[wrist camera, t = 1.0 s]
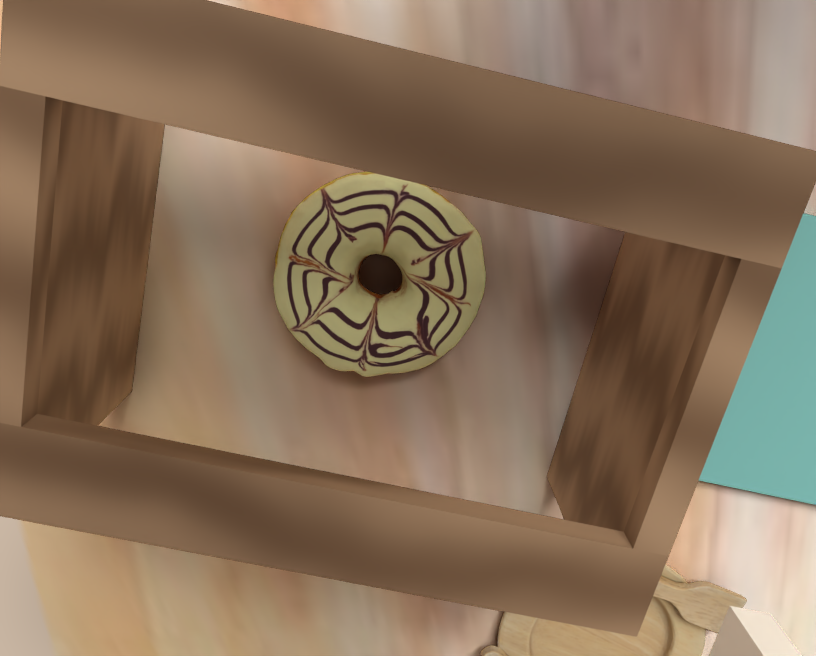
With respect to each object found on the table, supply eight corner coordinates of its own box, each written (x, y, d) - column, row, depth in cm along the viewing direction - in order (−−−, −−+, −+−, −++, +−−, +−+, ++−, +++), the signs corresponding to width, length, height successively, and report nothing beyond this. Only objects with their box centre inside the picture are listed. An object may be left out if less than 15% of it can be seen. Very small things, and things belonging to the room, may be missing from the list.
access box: (152, 12, 34) (5, -50, 21) (678, 141, 36) (826, 153, 23) (110, 386, 39) (-26, 511, 27) (566, 480, 41) (637, 636, 29)
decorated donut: (449, 379, 40) (454, 405, 36) (265, 334, 39) (250, 357, 35) (502, 200, 37) (513, 210, 33) (303, 148, 36) (292, 152, 32)
